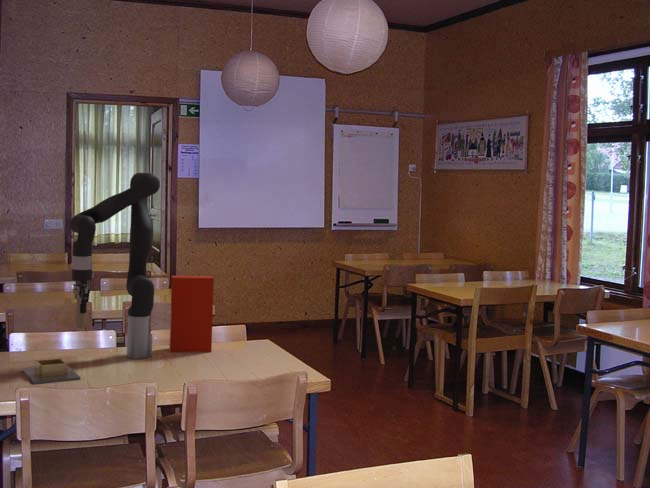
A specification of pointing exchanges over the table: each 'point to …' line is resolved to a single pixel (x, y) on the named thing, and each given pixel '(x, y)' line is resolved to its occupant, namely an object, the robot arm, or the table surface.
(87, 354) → the table surface
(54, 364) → the square socket base
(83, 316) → the handle
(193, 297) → the red rectangular box
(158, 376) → the table surface
